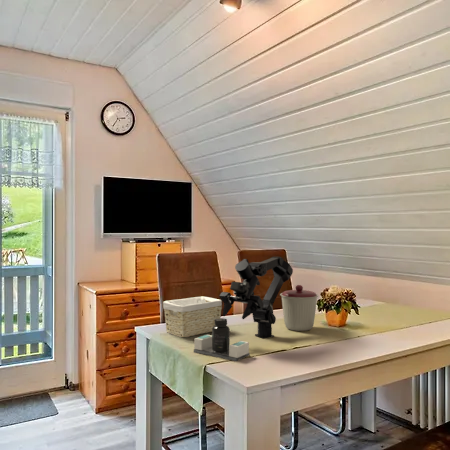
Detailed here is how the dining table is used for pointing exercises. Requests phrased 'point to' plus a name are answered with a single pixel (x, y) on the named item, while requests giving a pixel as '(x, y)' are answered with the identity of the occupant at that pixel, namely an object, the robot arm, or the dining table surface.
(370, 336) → the dining table surface
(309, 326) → the canister
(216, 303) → the storage basket
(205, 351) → the rail plate
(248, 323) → the dining table surface
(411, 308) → the dining table surface
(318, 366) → the dining table surface
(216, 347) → the supplement bottle
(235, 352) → the module pair
